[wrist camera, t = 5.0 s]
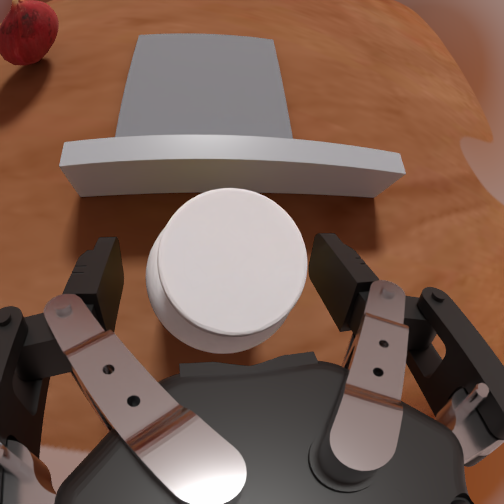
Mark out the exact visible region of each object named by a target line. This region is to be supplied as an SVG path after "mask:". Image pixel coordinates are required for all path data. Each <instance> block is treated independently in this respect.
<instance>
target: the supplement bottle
mask: <svg viewBox="0 0 504 504" xmlns="http://www.w3.org/2000/svg"><path fill="white" fill-rule="evenodd" d="M306 276H307V253H306V248H305V244H304V241H303V238H302V235H301V233H300V231H299V229H298V227H297V225H296V224H295V222H294V221H293V220H292V218H291V217H290V216H289V215H288V214H287V212H286V211H285V210H284V209H283V208H281V207H280V206H279V205H278V204H276V203H275V202H274V201H272V200H271V199H269V198H267V197H266V196H263V195H261V194H259V193H256V192H253V191H249V190H245V189H238V188H222V189H216V190H210V191H207V192H204V193H202V194H199V195H197V196H196V197H194V198H192V199H190V200H189V201H187V202H186V203H185V204H184V205H183V206H181V207H180V208H179V209H178V210H177V211H176V212H175V213H174V215H173V216H172V217H171V219H170V220H169V222H168V223H167V225H166V227H165V228H164V229H163V230H162V232H161V233H160V235H159V236H158V238H157V239H156V241H155V243H154V245H153V247H152V249H151V251H150V254H149V257H148V262H147V268H146V287H147V292H148V297H149V300H150V303H151V306H152V308H153V310H154V312H155V314H156V316H157V317H158V319H159V320H160V322H161V323H162V324H163V326H164V327H165V328H166V329H167V330H168V331H169V332H170V333H171V334H172V335H173V336H175V337H176V338H177V339H179V340H180V341H182V342H183V343H185V344H187V345H189V346H191V347H193V348H195V349H198V350H201V351H205V352H210V353H220V354H227V353H236V352H241V351H244V350H248V349H250V348H252V347H255V346H257V345H259V344H261V343H262V342H264V341H265V340H267V339H268V338H269V337H270V336H272V335H273V334H274V333H275V332H276V331H277V330H278V329H279V328H280V326H281V325H282V324H283V323H284V321H285V319H286V318H287V316H288V314H289V312H290V311H291V310H292V308H293V307H294V306H295V304H296V302H297V301H298V299H299V297H300V295H301V293H302V290H303V288H304V285H305V281H306Z"/></svg>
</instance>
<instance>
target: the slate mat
mask: <svg viewBox="0 0 504 504" xmlns="http://www.w3.org/2000/svg"><path fill="white" fill-rule="evenodd" d="M148 135H238V136H259V137H274V138H287V139H293V137H292V132H291V126H290V120H289V115H288V109H287V104H286V99H285V94H284V89H283V84H282V79H281V74H280V69H279V64H278V60H277V55H276V50H275V46H274V41H273V40H271V39H263V38H255V37H245V36H233V35H218V34H151V35H139V38H138V41H137V44H136V48H135V51H134V55H133V58H132V62H131V66H130V70H129V74H128V78H127V82H126V86H125V90H124V95H123V99H122V104H121V109H120V114H119V119H118V124H117V130H116V136H115V137H128V136H148Z"/></svg>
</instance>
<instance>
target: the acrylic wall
mask: <svg viewBox="0 0 504 504" xmlns="http://www.w3.org/2000/svg"><path fill="white" fill-rule="evenodd" d="M59 167H60V168H61V170H62V171H63V173H64V174H65V176H66V177H67V179H68V180H69V182H70V183H71V184H72V186H73V187H74V189H75V190H76V192H77V193H78V194H79V196H80V197H89V196H106V195H126V194H151V193H196V192H207V191H210V190H216V189H222V188H238V189H245V190H249V191H253V192H256V193H292V194H318V195H339V196H356V197H371V198H374V197H376V196H377V195H378V194H380V193H381V192H382V191H384V190H385V189H386V188H388V187H389V186H390V185H392V184H393V183H394V182H396V181H397V180H398V179H400V178H401V177H402V176H404V175H405V174H406V173H405V169H404V166H403V163H402V159H401V156H400V154H399V153H394V152H388V151H383V150H377V149H371V148H364V147H357V146H350V145H343V144H335V143H327V142H318V141H309V140H299V139H287V138H274V137H259V136H238V135H148V136H128V137H114V138H101V139H90V140H80V141H72V142H64V147H63V151H62V155H61V160H60V165H59Z"/></svg>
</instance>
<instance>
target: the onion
mask: <svg viewBox="0 0 504 504" xmlns="http://www.w3.org/2000/svg"><path fill="white" fill-rule="evenodd" d="M57 32H58V18H57V15H56V13H55V12H54V10H53V9H52V8H51V7H50V6H49V5H47V4H46V3H44V2H40V1H32V0H31V1H26V0H12V6H11V10H10V12H9V13H8V14H7V16H6V17H5V19H4V20H3V22H2V24H1V26H0V54H1V55H2V57H3V58H4V60H6V61H8V62H10V63H12V64H14V65H30V64H33V63H37V62H39V61H40V60H41V59H42V57H44V56H45V54H46V53H47V52H48V51H49V49H50V48H51V46H52V44H53V43H54V41H55V38H56V36H57Z"/></svg>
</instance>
